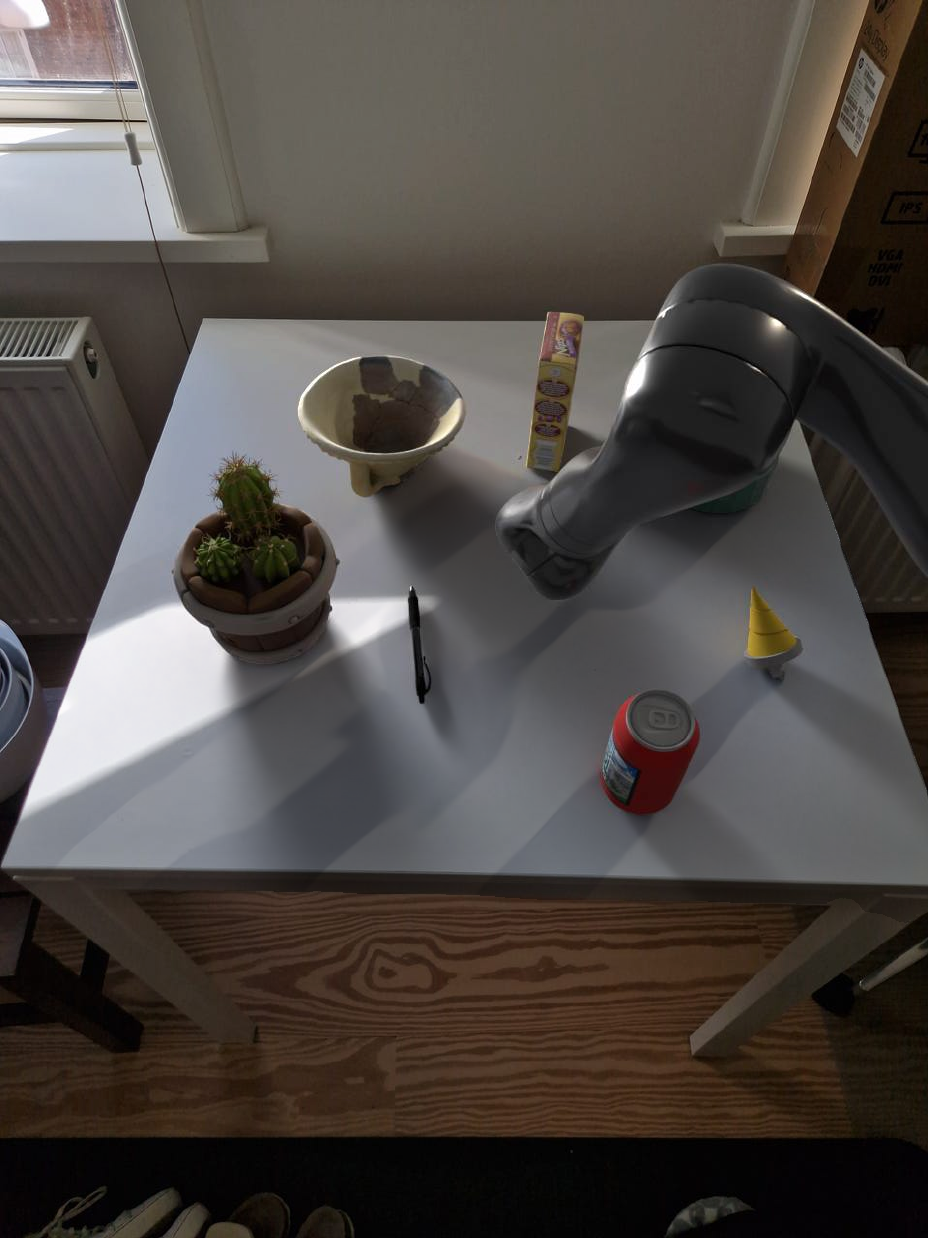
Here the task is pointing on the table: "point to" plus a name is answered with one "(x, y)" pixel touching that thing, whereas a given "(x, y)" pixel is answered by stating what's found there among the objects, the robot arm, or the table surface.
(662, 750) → the beverage can
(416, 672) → the pen
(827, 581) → the table surface
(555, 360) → the candy box
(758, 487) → the mixing bowl
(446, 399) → the bowl
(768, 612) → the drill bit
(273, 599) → the flowerpot
